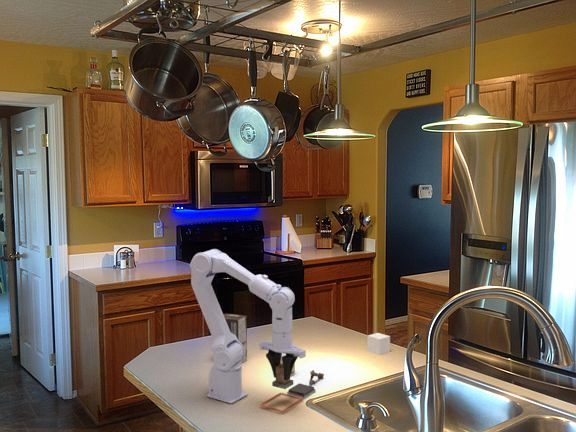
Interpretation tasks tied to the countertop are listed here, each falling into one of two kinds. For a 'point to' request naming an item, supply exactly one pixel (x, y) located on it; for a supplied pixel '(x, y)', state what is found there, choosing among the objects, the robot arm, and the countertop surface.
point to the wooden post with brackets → (316, 376)
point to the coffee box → (238, 329)
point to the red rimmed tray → (281, 403)
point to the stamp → (281, 378)
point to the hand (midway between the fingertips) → (282, 377)
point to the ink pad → (301, 391)
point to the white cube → (378, 343)
